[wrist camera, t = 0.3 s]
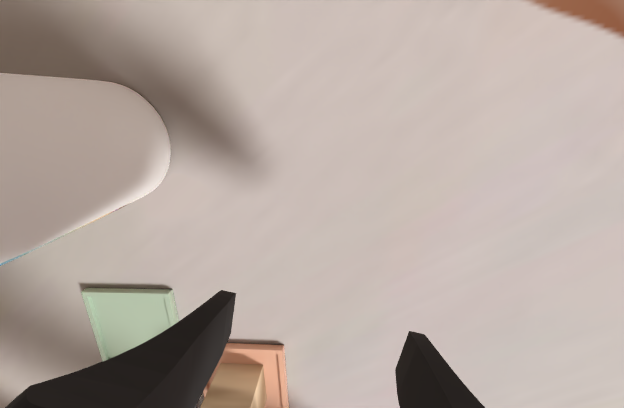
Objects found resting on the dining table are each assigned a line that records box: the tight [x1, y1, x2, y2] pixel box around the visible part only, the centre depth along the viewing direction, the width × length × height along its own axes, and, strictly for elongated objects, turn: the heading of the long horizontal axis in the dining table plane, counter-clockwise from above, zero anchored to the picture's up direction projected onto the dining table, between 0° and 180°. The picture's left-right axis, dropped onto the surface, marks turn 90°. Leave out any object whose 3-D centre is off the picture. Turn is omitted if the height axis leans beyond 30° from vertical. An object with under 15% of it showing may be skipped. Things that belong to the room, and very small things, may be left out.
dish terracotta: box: [203, 343, 289, 408], centre depth 27 cm, size 7×7×1 cm
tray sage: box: [81, 288, 179, 361], centre depth 26 cm, size 7×7×1 cm
